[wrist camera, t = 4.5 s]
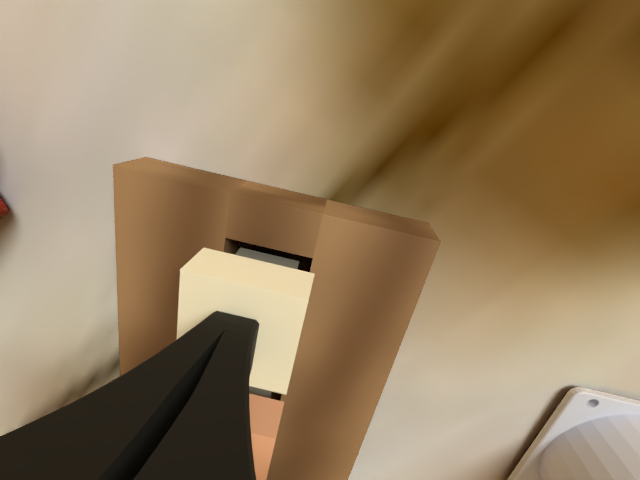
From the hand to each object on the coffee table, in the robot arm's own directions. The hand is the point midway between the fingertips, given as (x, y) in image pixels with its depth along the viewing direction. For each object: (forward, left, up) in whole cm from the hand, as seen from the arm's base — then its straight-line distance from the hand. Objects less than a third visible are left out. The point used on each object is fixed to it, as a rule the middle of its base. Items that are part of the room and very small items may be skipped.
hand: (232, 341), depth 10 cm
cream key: (0, 0, -4) cm, 4 cm away
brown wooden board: (0, +9, -5) cm, 10 cm away
